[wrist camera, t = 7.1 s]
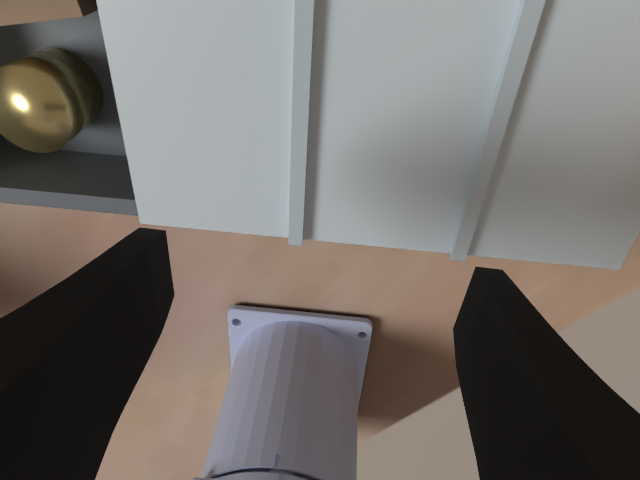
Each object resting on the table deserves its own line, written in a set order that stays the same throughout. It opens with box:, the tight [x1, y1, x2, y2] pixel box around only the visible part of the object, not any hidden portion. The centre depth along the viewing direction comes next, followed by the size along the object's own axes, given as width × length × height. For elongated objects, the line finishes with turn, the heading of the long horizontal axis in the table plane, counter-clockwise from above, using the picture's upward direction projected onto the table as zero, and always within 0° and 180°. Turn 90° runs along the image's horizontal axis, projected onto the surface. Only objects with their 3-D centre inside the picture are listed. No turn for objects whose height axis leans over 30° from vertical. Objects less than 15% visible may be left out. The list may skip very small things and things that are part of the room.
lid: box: [96, 0, 640, 270], centre depth 13 cm, size 11×19×4 cm, turn 87°
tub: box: [0, 10, 138, 216], centre depth 16 cm, size 12×18×4 cm, turn 86°
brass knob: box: [0, 47, 104, 153], centre depth 18 cm, size 3×3×3 cm
